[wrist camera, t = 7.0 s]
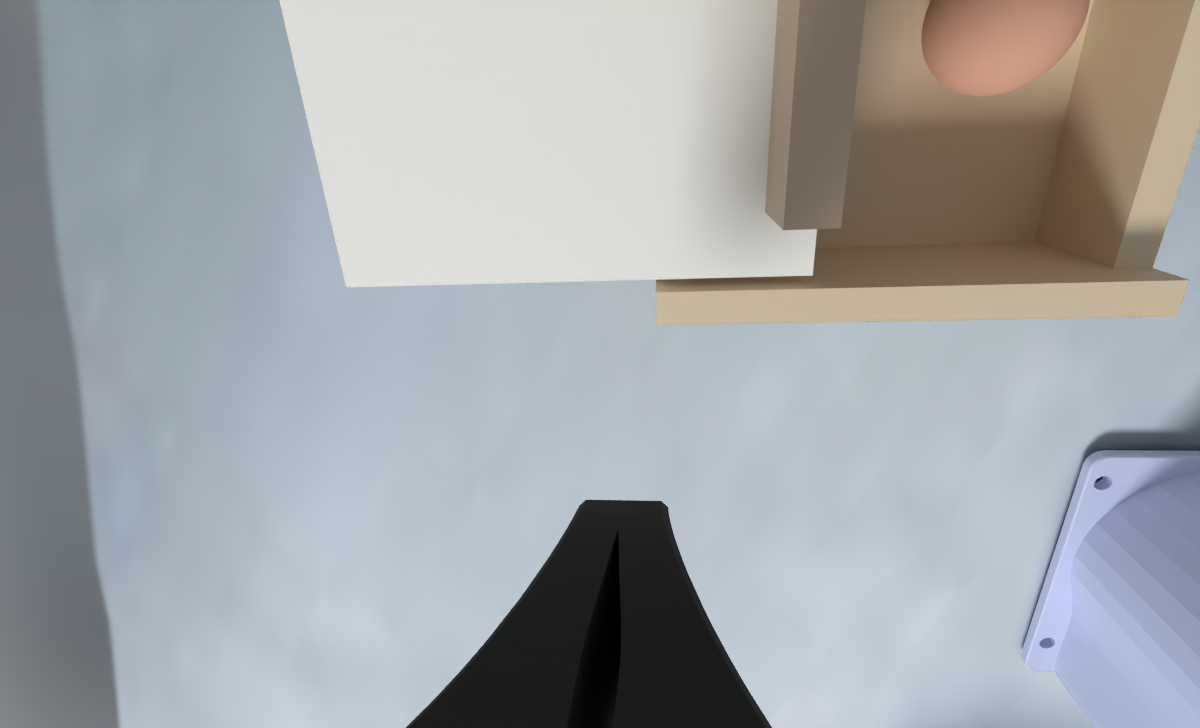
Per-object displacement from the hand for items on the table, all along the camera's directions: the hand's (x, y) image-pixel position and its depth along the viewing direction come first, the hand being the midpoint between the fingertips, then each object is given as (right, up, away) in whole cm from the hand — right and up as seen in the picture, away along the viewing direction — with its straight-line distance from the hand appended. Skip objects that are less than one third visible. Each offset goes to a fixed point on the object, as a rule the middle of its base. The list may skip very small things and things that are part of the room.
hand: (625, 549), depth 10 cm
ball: (+8, +11, +4) cm, 15 cm away
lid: (-1, +10, +2) cm, 10 cm away
